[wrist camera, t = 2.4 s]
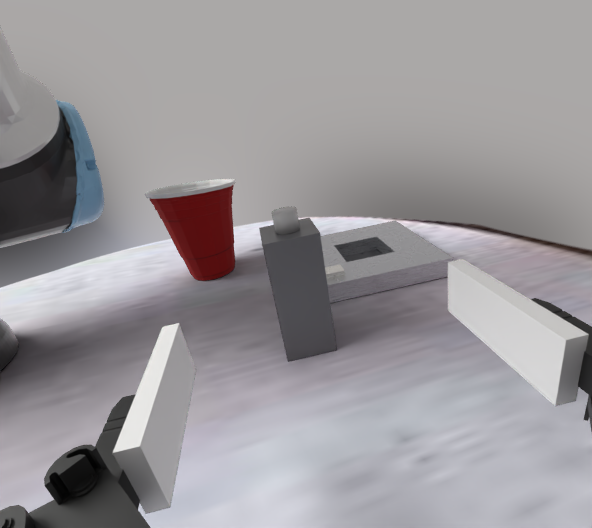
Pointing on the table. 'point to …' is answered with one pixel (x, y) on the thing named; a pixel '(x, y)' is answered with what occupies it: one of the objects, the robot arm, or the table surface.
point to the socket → (379, 260)
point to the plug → (299, 284)
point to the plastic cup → (199, 224)
